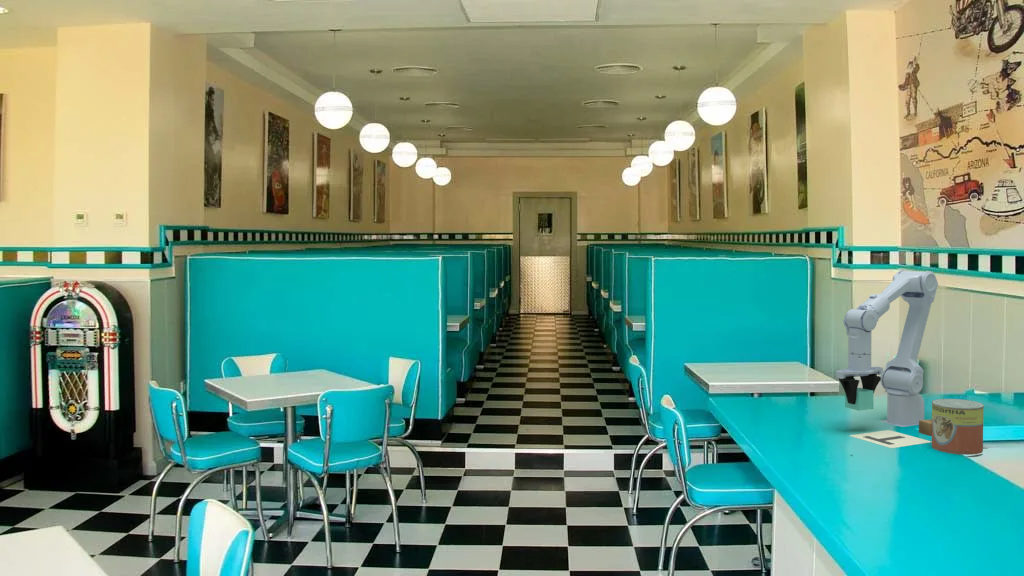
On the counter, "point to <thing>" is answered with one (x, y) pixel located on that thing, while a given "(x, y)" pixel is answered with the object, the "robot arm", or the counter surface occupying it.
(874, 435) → the board
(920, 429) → the walnut block
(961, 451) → the canned food
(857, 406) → the turquoise cube
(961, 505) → the counter surface
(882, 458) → the counter surface
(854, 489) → the counter surface
